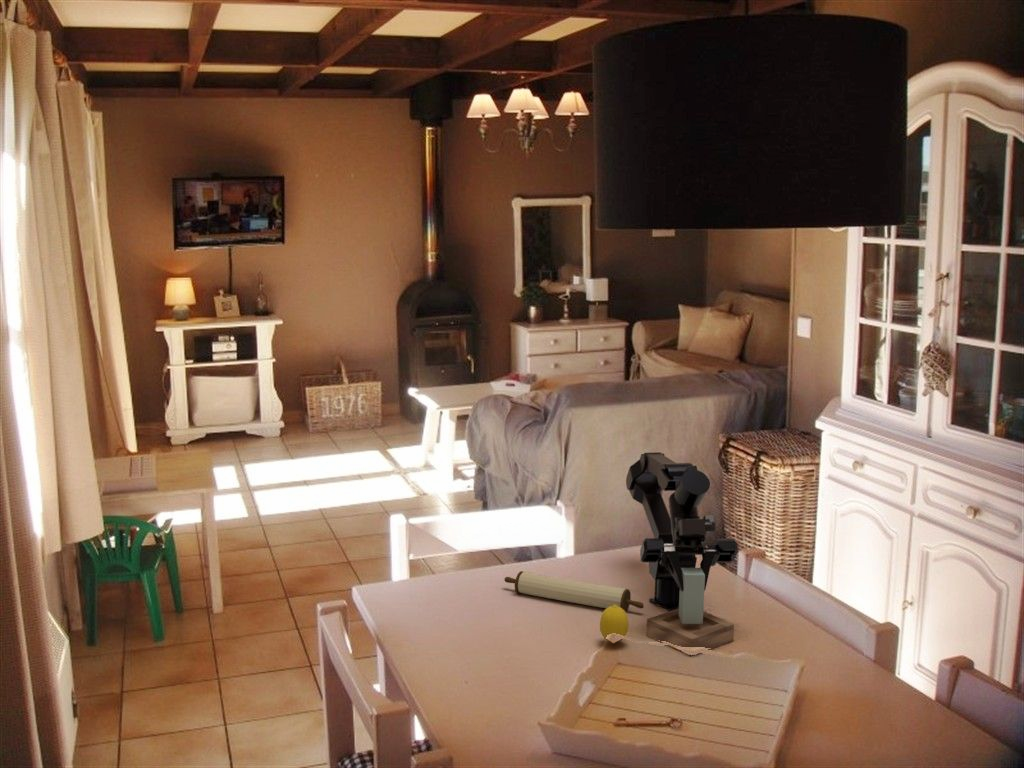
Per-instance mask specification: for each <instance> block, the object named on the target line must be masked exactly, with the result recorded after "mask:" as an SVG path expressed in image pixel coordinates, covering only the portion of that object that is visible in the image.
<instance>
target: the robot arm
mask: <svg viewBox="0 0 1024 768" xmlns="http://www.w3.org/2000/svg"><path fill="white" fill-rule="evenodd" d="M697 467H698V466H697V465H694V464H692V463H691V462H675V461H674V460H672V459H671V458H669V457H667V456H665V454H664V453H663V452H661V451H660V452H657V451H655V452H644V453H641V454H640V457H639V459H638V460H637V461H636V462H634V463H633V464H631V465H630V467H629V468H628V471H627V475H626V478H625V486H626V489H627V490H628V491H629V494H630V496H631V497H632V499H633V500H634V501H636V502H637V503H639V504H641V505H642V507H643V510H644V512H645V515H646V519H647V521H648V524H649V526H650V530H651V532H652V535H653V538H652V537H651V538H647V537H646V538H644V540H642V543H641V546H640V550H639V552H640V553H639V555H640V557H639V558H640V562H641V563H648V573H649V574H650V576H651V577H652V578H653V579H654V597H652V598H649V602H650V603H652V604H654V605H657V606H658V607H661V608H663V609H666V610H667V611H673V610H676V609H679V594H680V590H681V591H683V590H684V587H683V577H682V573H681V568H697V559H698V557H697V556H699V555H701V557H702V559H701V561H700V563H699V565H700V567H699V568H701V569H702V571H703V572H704V574H705V587H704V592H705V591H706V588H707V585H708V584H707V583H708V579H709V574H710V570H711V567H714V566H716V564H717V563H732V562H734V561H735V558H736V556H737V554H738V552H739V545H738V542H737V541H736V539H734V538H716V540H715V542H714V544H703V542H704V543H705V540H706V536H707V533H714V532H715V531H716V520H715V515H714V514H713V515H711V514H705V515H703V518H700V517H701V516H700V515H699V508H698V507H699V506H700V505H701V504H702V502H703V500H704V498H705V497H706V495H707V493H708V491H709V489H710V488H711V487H710V486H711V480H710V479H709V477H708V476H707V475H706V474H705V473H704V472H702V471H700V470H698V468H697ZM664 492H673V493H671V494H670V496H669V497H668V508H669V511H668V508H667V505H666V503H665V501H664V498H663V493H664ZM696 555H697V556H696Z"/></svg>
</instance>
